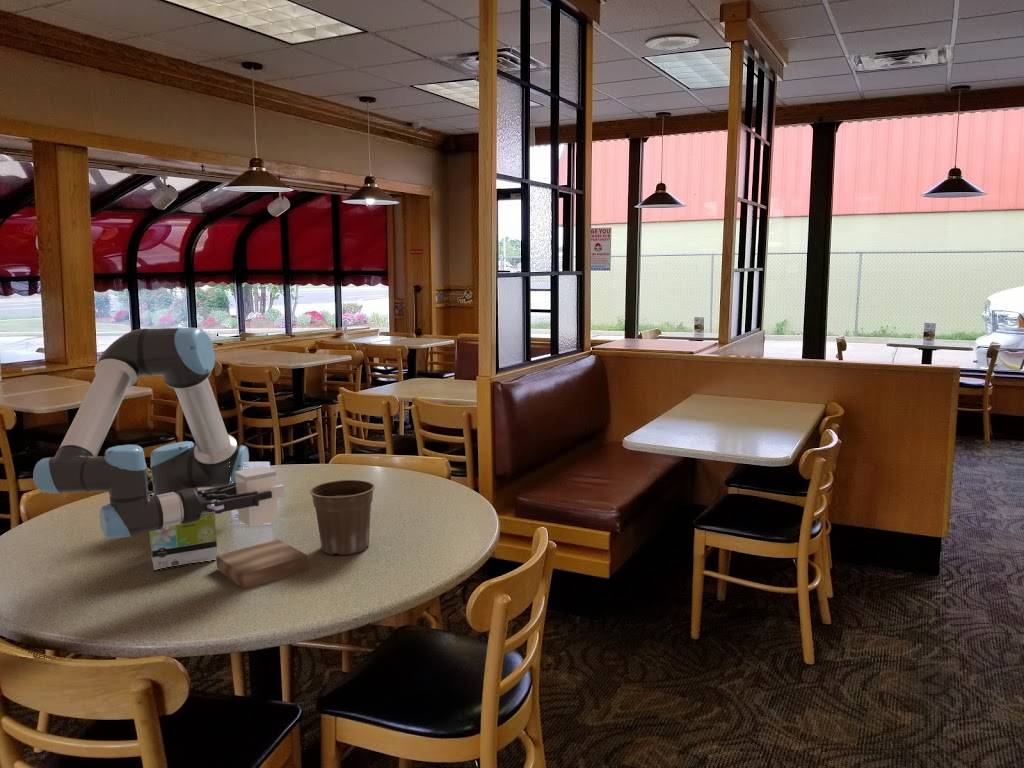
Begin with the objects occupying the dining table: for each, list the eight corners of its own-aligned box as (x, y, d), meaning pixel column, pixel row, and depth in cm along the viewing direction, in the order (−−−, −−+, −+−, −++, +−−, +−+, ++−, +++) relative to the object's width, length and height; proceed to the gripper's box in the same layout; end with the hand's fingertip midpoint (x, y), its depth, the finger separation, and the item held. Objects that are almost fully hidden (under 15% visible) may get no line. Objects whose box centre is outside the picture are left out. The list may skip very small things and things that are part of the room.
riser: (217, 571, 187) (216, 555, 186) (279, 554, 197) (278, 539, 197) (244, 590, 175) (243, 573, 174) (308, 571, 186) (307, 555, 185)
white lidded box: (238, 519, 185) (234, 471, 183) (267, 513, 189) (263, 466, 187) (249, 526, 179) (245, 477, 177) (279, 520, 184) (275, 471, 182)
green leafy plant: (152, 511, 251) (172, 479, 254) (151, 515, 241) (172, 480, 244) (119, 496, 247) (139, 463, 250) (117, 499, 237) (138, 464, 240)
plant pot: (355, 532, 211) (352, 475, 208) (390, 546, 199) (387, 486, 197) (302, 548, 200) (298, 488, 197) (335, 564, 188) (331, 501, 186)
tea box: (153, 572, 186) (147, 514, 184) (151, 559, 195) (145, 503, 192) (219, 560, 193) (214, 503, 190) (214, 548, 201) (209, 493, 199)
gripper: (166, 514, 180) (261, 493, 194) (194, 535, 165) (295, 511, 179) (163, 483, 179) (259, 465, 193) (191, 501, 164) (293, 480, 178)
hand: (276, 487), depth 186 cm, fingers closed on white lidded box, 7 cm apart
